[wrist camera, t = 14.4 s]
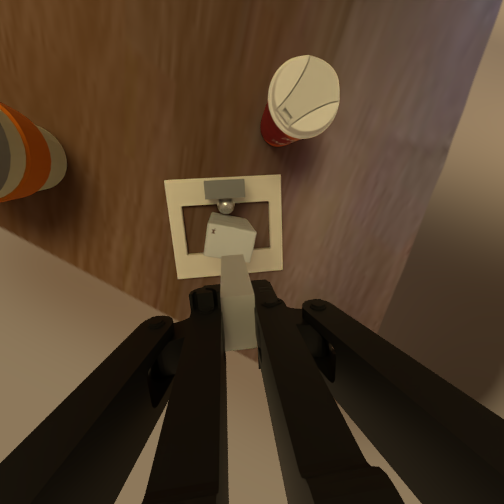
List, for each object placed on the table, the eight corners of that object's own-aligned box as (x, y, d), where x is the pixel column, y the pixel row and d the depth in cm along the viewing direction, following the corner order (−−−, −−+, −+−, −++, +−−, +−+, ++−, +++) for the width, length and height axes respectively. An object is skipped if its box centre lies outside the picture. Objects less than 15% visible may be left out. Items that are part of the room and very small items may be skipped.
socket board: (165, 180, 38) (156, 179, 32) (279, 174, 39) (288, 172, 34) (178, 277, 42) (172, 289, 37) (281, 268, 44) (289, 279, 38)
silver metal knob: (215, 182, 37) (214, 182, 34) (232, 182, 37) (233, 181, 34) (218, 213, 38) (217, 215, 35) (234, 212, 38) (235, 214, 35)
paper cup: (274, 164, 39) (301, 152, 26) (243, 124, 37) (254, 87, 23) (312, 130, 38) (360, 99, 25) (282, 87, 36) (316, 28, 23)
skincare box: (207, 236, 41) (201, 256, 29) (211, 211, 40) (206, 221, 28) (243, 242, 42) (250, 264, 30) (247, 218, 41) (257, 230, 29)
